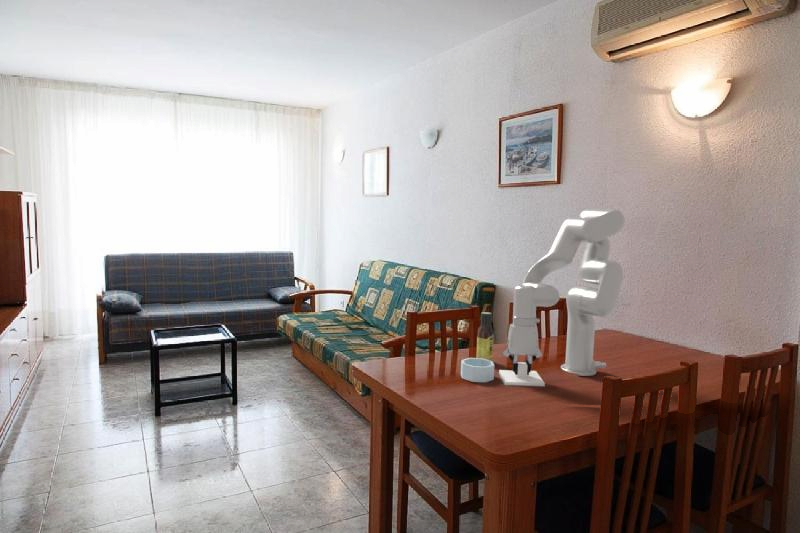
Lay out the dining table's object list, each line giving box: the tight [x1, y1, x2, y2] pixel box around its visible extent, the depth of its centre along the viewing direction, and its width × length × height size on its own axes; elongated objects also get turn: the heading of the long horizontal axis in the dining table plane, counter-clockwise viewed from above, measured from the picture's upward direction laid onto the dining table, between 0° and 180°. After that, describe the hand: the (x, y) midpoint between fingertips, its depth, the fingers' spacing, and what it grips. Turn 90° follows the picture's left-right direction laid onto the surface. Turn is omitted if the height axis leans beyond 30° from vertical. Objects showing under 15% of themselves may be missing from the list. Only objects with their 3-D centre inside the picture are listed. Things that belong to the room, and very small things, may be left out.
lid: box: [498, 361, 546, 387], centre depth 182 cm, size 13×13×6 cm
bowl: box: [460, 357, 495, 383], centre depth 183 cm, size 11×11×6 cm
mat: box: [497, 372, 546, 388], centre depth 182 cm, size 14×14×1 cm
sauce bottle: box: [475, 311, 495, 362], centre depth 200 cm, size 7×6×20 cm
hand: (521, 373), depth 182 cm, fingers closed on lid, 3 cm apart
